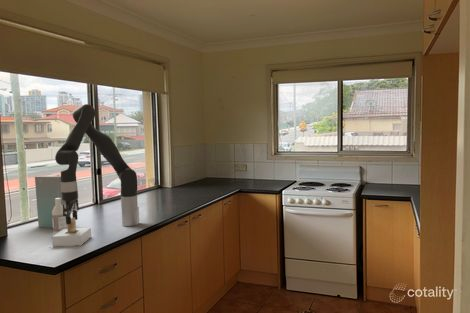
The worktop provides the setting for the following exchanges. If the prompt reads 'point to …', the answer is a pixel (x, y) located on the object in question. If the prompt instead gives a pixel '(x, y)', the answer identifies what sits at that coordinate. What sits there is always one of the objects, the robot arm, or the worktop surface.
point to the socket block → (71, 237)
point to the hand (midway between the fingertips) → (72, 221)
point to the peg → (71, 226)
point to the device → (47, 197)
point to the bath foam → (58, 217)
